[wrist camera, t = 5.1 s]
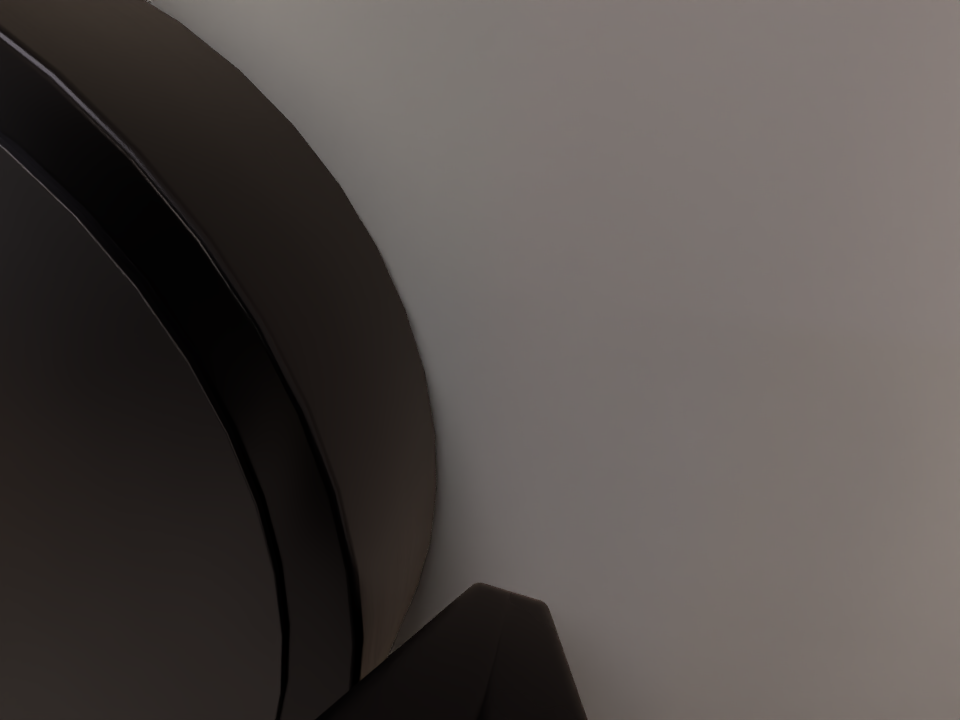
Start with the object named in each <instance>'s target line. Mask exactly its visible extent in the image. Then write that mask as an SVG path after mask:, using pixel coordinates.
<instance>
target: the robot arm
mask: <svg viewBox="0 0 960 720" xmlns="http://www.w3.org/2000/svg"><path fill="white" fill-rule="evenodd" d="M315 720H587V717H586V714H585V711H584V708H583V705H582V702H581V700H580V697H579V694H578V691H577V688H576V685H575V682H574V680H573V677H572V674H571V671H570V668H569V665H568V662H567V659H566V657H565V654H564V651H563V648H562V645H561V642H560V639H559V637H558V634H557V631H556V628H555V625H554V622H553V619H552V617H551V614H550V611H549V609H548V606H547V605H546V604H545V603H544V602H542V601H540V600H537V599H534V598H530V597H527V596H524V595H520V594H517V593H514V592H511V591H507V590H504V589H501V588H497V587H494V586H491V585H488V584H484V583H475V584H473V585H472V586H471V587H469V588H468V589H467V590H466V591H465V592H464V593H462V594H461V595H460V596H459V597H458V598H456V599H455V600H454V601H453V602H452V603H451V604H449V605H448V606H447V607H446V608H445V609H444V610H442V611H441V612H440V613H439V614H438V615H437V616H435V617H434V618H433V619H432V620H431V621H430V622H428V623H427V624H426V625H425V626H424V627H423V628H421V629H420V630H419V631H418V632H417V633H416V634H414V635H413V636H412V637H411V638H410V639H409V640H407V641H406V642H405V643H404V644H403V645H401V646H400V647H399V648H398V649H397V650H396V651H394V652H393V653H392V654H391V655H390V656H389V657H387V658H386V659H385V660H384V661H383V662H382V663H380V664H379V665H378V666H377V667H376V668H375V669H373V670H372V671H371V672H370V673H369V674H368V675H366V676H365V677H364V678H363V679H362V680H361V681H359V682H358V683H357V684H356V685H355V686H354V687H352V688H351V689H350V690H349V691H348V692H347V693H345V694H344V695H343V696H342V697H341V698H339V699H338V700H337V701H336V702H335V703H334V704H332V705H331V706H330V707H329V708H328V709H327V710H325V711H324V712H323V713H322V714H321V715H320V716H318V717H317V718H316V719H315Z"/></svg>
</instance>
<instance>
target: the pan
mask: <svg viewBox="0 0 960 720" xmlns="http://www.w3.org/2000/svg"><path fill="white" fill-rule="evenodd" d="M436 491H437V480H436V449H435V430H434V424H433V418H432V412H431V406H430V400H429V395H428V389H427V383H426V377H425V372H424V369H423V365H422V362H421V359H420V356H419V352H418V349H417V346H416V343H415V340H414V336H413V333H412V330H411V327H410V323H409V320H408V317H407V314H406V310H405V308H404V306H403V304H402V302H401V299H400V297H399V295H398V293H397V290H396V288H395V286H394V284H393V282H392V279H391V277H390V275H389V273H388V270H387V268H386V266H385V264H384V262H383V259H382V257H381V255H380V253H379V250H378V248H377V246H376V245H375V243H374V241H373V240H372V238H371V236H370V235H369V233H368V231H367V230H366V228H365V226H364V225H363V223H362V221H361V220H360V218H359V216H358V215H357V213H356V211H355V210H354V208H353V206H352V205H351V203H350V201H349V200H348V198H347V196H346V195H345V193H344V191H343V190H342V188H341V186H340V185H339V183H338V182H337V181H336V180H335V178H334V177H333V176H332V174H331V173H330V172H329V171H328V169H327V168H326V167H325V165H324V164H323V163H322V162H321V160H320V159H319V158H318V156H317V155H316V154H315V152H314V151H313V150H312V149H311V147H310V146H309V145H308V143H307V142H306V141H305V140H304V138H303V137H302V136H301V134H300V133H299V132H298V131H297V129H296V128H295V127H294V125H293V124H292V123H291V122H290V121H289V120H288V119H287V118H286V117H285V116H284V115H283V114H282V113H281V112H280V111H279V110H278V109H277V108H276V107H275V106H274V105H273V104H272V103H271V102H270V101H269V100H268V99H267V98H266V97H265V96H264V95H263V94H262V93H261V92H260V91H259V90H258V89H257V88H256V87H255V85H254V84H253V83H252V82H251V81H250V80H249V79H248V78H247V77H246V76H245V75H244V74H243V73H242V72H241V71H240V70H239V69H237V68H236V67H235V66H234V65H232V64H231V63H230V62H229V61H227V60H226V59H225V58H224V57H222V56H221V55H220V54H219V53H217V52H216V51H215V50H214V49H213V48H211V47H210V46H209V45H208V44H206V43H205V42H204V41H203V40H201V39H200V38H199V37H198V36H196V35H195V34H194V33H193V32H191V31H190V30H189V29H188V28H186V27H185V26H184V25H183V24H181V23H180V22H179V21H177V20H175V19H174V18H172V17H170V16H169V15H167V14H166V13H164V12H162V11H161V10H159V9H158V8H156V7H154V6H153V5H151V4H149V3H148V2H146V1H145V0H0V720H315V719H316V718H317V717H318V716H320V715H321V714H322V713H323V712H324V711H325V710H327V709H328V708H329V707H330V706H331V705H332V704H334V703H335V702H336V701H337V700H338V699H339V698H341V697H342V696H343V695H344V694H345V693H347V692H348V691H349V690H350V689H351V688H352V687H354V686H355V685H356V684H357V683H358V682H359V681H361V680H362V679H363V678H364V677H365V676H366V675H368V674H369V673H370V672H371V671H372V670H373V669H375V668H376V667H377V666H378V665H379V664H380V663H382V662H383V661H384V660H385V659H386V658H387V657H388V655H389V652H390V650H391V648H392V645H393V643H394V641H395V638H396V636H397V634H398V632H399V629H400V627H401V625H402V622H403V620H404V618H405V615H406V613H407V611H408V608H409V606H410V604H411V601H412V599H413V597H414V594H415V592H416V590H417V588H418V584H419V581H420V577H421V574H422V570H423V566H424V563H425V559H426V556H427V552H428V549H429V545H430V541H431V534H432V525H433V517H434V508H435V500H436Z"/></svg>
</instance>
